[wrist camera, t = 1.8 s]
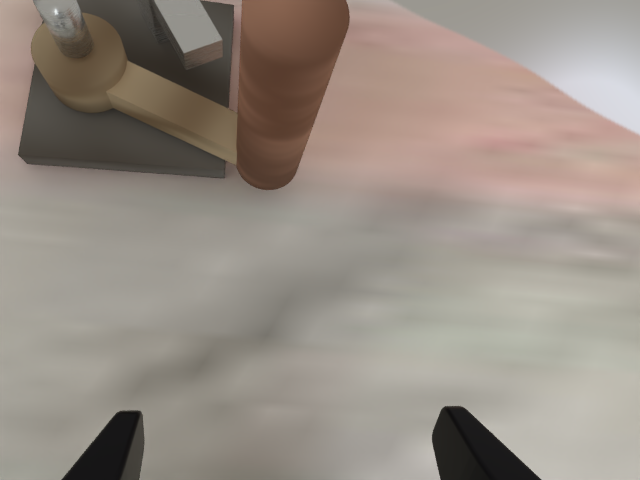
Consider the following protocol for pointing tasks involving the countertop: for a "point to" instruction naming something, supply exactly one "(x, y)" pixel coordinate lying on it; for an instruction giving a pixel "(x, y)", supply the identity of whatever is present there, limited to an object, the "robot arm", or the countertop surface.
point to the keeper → (161, 17)
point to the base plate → (117, 127)
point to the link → (203, 114)
